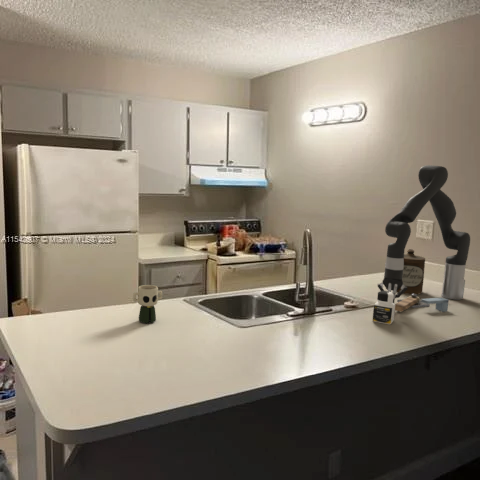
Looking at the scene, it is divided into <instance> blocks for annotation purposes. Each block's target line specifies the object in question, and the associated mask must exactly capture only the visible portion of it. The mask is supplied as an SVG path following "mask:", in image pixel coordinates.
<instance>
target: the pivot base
mask: <svg viewBox="0 0 480 480" xmlns="http://www.w3.org/2000/svg"><path fill="white" fill-rule="evenodd" d="M410 296H411V297H418V294H413V293H412V294H410ZM404 299H405V298H404ZM404 299H397V301H396V303H398V302H400V301H402V300H404ZM430 305H431V304H426V303H423V302H421V300H419V303H416V304H414V305H413V306H411V307H410V308H412V309H414V308H417V309H418V308H427V307H430Z"/></svg>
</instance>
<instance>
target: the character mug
mask: <svg viewBox="0 0 480 480" xmlns="http://www.w3.org/2000/svg"><path fill="white" fill-rule="evenodd" d="M137 290H138V291H137V292H134V293H133V294H132V301H133V302H134V303H135V302H137V304H138V305H140V307H139V314H138V321H139V322H140V323H143V324H144V323H145V324H147V323H154V322H156V321H157V317H156V315H157V314H156V307H155V306H156V305H157V304H158V302H159V300H162V299H163V291H162V290H159V288H158V286H157V285H153V284H144V285H143V284H141V285H139V286H138V287H137Z"/></svg>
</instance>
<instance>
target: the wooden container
mask: <svg viewBox="0 0 480 480" xmlns="http://www.w3.org/2000/svg"><path fill="white" fill-rule="evenodd" d="M406 251H407V253H406V254H405V253H404V267H403V277H402V282H403V285H404V286H406V287H407V290H406V291H405V292H404V293H403V294H404V295H411V294H412V293H413V294H417V295H420V294H423V286H424V281H425V280H424V278H425V264H426V258H425V257H424V256H422V255H421V256H420V255H415V254H414V253H415V250H413V249H412V248H411V249H410V248H409V249H407V250H406ZM401 287H402V286H401ZM401 287H400V288H399V289H398V290H397V291H396V293H398V292H399V291H400V290H401Z"/></svg>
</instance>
